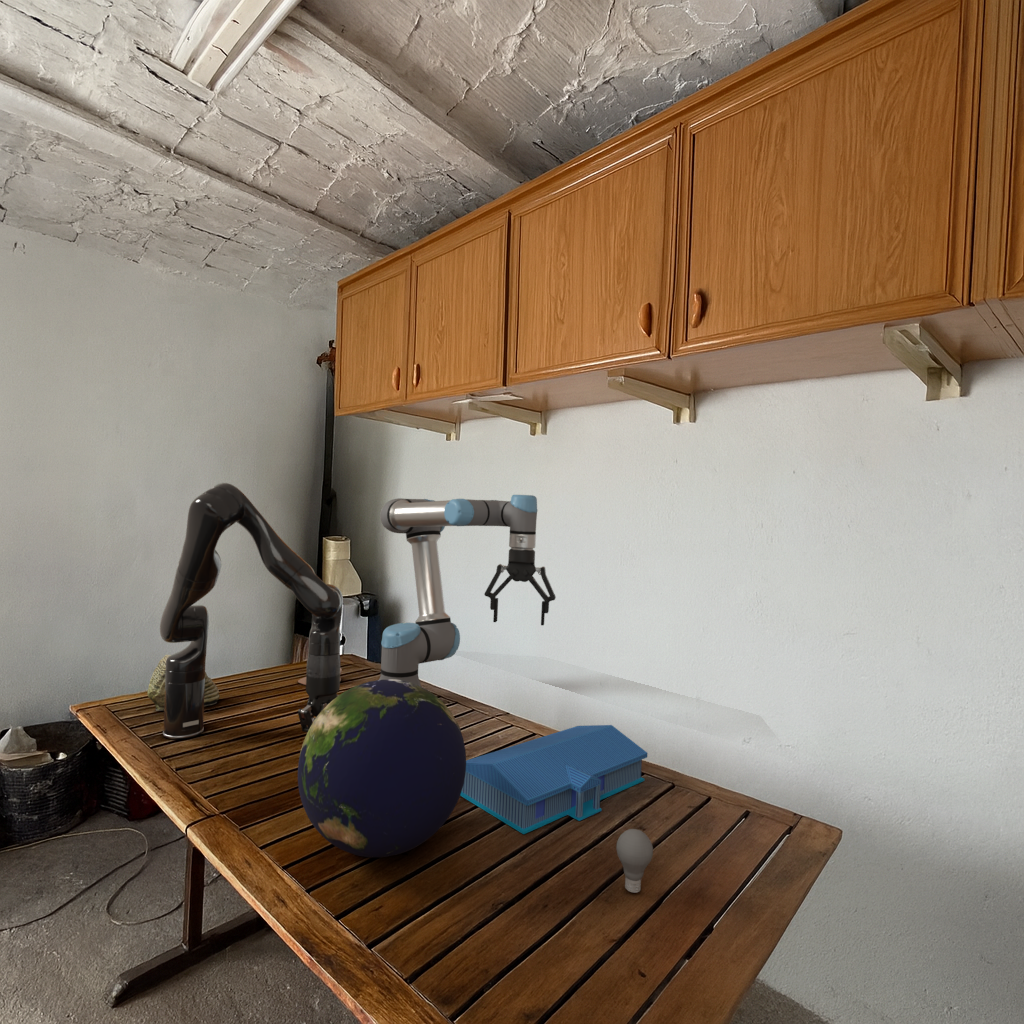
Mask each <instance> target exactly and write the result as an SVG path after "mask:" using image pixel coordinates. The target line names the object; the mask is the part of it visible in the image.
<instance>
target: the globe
mask: <svg viewBox="0 0 1024 1024" xmlns="http://www.w3.org/2000/svg"><path fill="white" fill-rule="evenodd" d="M338 695H339V696H338V697H336V698H335V699H334V700H332V701H331V702H330V703H329V704H328V705H327V706H326V707H325V708H324V709H323V710H322V711H321V712H320V714H319V715H318V716H317V717H315V718H316V719H315V720H314V722H313V723H312V725H311V727H310V729H309V731H308V733H307V732H306V735H305V738H304V740H303V742H302V745H301V749H300V752H299V758H298V763H297V764H298V765H297V766H298V767H297V786H298V793H299V797H300V800H301V801H300V802H301V804H302V807H303V809H304V811H305V814H306V816H307V818H308V820H309V822H310V823H311V824H312V826H313V827H314V829H315V830H316V831H317V833H318V834H320V835H321V836H322V837H323V839H325V840H326V841H327V842H328V843H330V844H331V845H333V846H335V847H336V848H338V849H339V850H341V851H343V852H346V853H348V854H351V855H354V856H358V857H363V858H387V857H393V856H397V855H401V854H404V853H406V852H410V851H411V850H413V849H415V848H417V847H419V846H420V845H422V844H423V843H425V842H427V840H429V839H430V838H432V837H433V836H434V835H435V834H436V833H437V832H438V831H439V830H440V829H441V828H442V827H443V826H444V824H446V822H447V821H448V819H449V818H450V816H451V814H452V813H453V811H454V809H455V808H456V806H457V804H458V801H459V799H460V797H461V796H460V794H461V791H462V788H463V784H464V779H465V773H466V760H467V753H466V746H465V741H464V737H463V733H462V730H461V728H460V726H459V723H458V721H457V719H456V718H455V716H454V714H453V713H452V711H451V710H450V709H449V708H448V706H447V705H446V704H445V703H444V702H443V701H442V700H441V699H440V698H439V697H438V696H436V695H435V694H434V693H432V692H431V691H430V690H428V689H427V688H425V687H422V686H421V687H420V686H418V685H416V684H413V683H410V682H406V681H402V680H396V679H387V680H379V679H377V680H376V679H375V680H370V681H366V682H363V683H360V684H358V685H355V686H353V687H351V688H349V689H347V690H345V691H344V692H342V693H341V694H340V693H339V694H338Z"/></svg>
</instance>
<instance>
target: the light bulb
mask: <svg viewBox="0 0 1024 1024" xmlns="http://www.w3.org/2000/svg"><path fill="white" fill-rule="evenodd" d="M615 849H616V854H617V857H618V859H619V861H620V863H621V865H622V867H623V873H624V874H623V875H624V876H625V878H624V888H625V890H627V891H628V892H630V893H634V894H635V893H639V892H640V891H641V889H642V887H641V886H642V879H643V877H644V875H645V871H646V868H647V867H648V866H649V864H650V863H651V861H652V859H653V855H654V847H653V843H652V841H651V838H649V836H648V835H647V834H646V833H645V832H643V831H642V830H641V829H636V828H629V829H627V830H625V831H623V832H622V833H621V834H620V835H619V837H618V839H617V841H616V847H615Z"/></svg>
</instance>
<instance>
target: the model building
mask: <svg viewBox="0 0 1024 1024" xmlns="http://www.w3.org/2000/svg"><path fill="white" fill-rule="evenodd" d="M648 755H649V754H648V751H646V750H644V749H643V748H642V747H640V746H639V744H637V743H635V742H634V741H633V740H632V739H630V738H629V736H626V734H624V733H623V732H621V731H620V730H619V729H618V728H616V727H615V726H614V725H612V724H596V725H595V724H592V725H576V726H574V727H569V728H566V729H564V730H560V731H556V732H553V733H550V734H548V735H544V736H541V737H537V738H534V739H530V740H528V741H524V742H521V743H518V744H514V745H511V746H509V747H505V748H502V749H499V750H496V751H492V752H489V753H485V754H482V755H479V756H476V757H473V758H470V759H466V773H465V779H464V784H463V788H462V791H461V794H460V797H462V798H463V799H465V800H466V801H468V802H470V803H471V804H472V805H475V806H476V807H478V808H479V809H481V810H483V811H485V812H486V813H487V814H490V815H491V816H493V817H494V818H495V819H498V820H499V821H501V822H502V823H503V824H506V825H508V826H509V827H511V828H512V829H514V830H515V831H517V832H519V834H522V835H526V834H528V833H530V832H533V831H535V830H537V829H540V828H542V827H544V826H546V825H548V824H550V823H552V822H556V821H557V820H559V819H562V818H563V817H566V816H569V817H571V818H573V819H574V820H576V821H578V822H581V821H583V820H585V819H587V818H589V817H592V816H594V815H596V814H598V813H600V812H602V808H601V801H602V800H604V799H606V798H609V797H611V796H613V795H616V794H617V793H620V792H622V791H624V790H627V789H629V788H631V787H634V786H636V785H639V784H641V783H642V782H645V781H646V780H645V778H644V777H642V763H643V762H642V761H643V760H645V759H647V758H648Z"/></svg>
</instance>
